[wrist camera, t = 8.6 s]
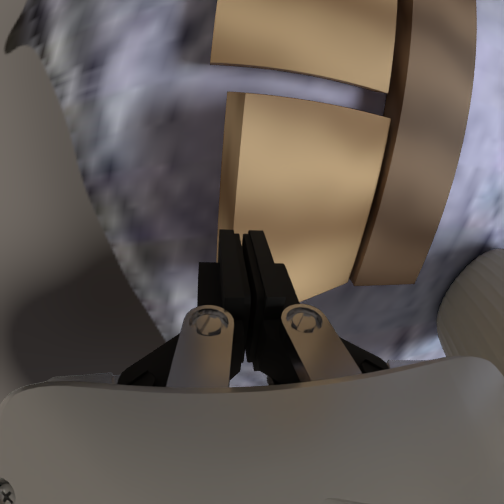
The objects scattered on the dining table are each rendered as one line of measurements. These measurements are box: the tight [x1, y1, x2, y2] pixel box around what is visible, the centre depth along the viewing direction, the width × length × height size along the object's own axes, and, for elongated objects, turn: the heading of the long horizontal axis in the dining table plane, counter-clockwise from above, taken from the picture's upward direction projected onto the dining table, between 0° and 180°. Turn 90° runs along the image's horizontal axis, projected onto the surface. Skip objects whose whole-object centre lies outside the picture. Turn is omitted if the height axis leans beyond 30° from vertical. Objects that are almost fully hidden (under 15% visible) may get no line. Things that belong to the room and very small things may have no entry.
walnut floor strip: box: [349, 0, 477, 286], centre depth 15 cm, size 26×6×2 cm, turn 174°
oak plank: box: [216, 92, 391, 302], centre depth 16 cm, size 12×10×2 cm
